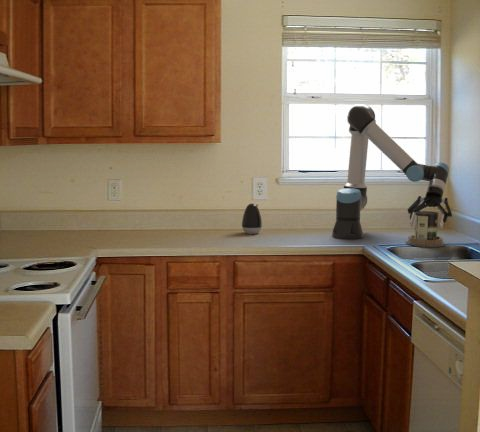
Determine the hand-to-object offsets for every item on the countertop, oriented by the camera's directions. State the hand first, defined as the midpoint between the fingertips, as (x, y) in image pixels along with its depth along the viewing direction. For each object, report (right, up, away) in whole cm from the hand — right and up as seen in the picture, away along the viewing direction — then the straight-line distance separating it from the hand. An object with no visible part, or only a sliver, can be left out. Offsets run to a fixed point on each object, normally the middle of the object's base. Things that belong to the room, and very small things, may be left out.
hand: (425, 225), depth 308 cm
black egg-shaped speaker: (-80, -4, +30) cm, 85 cm away
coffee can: (0, -8, +3) cm, 8 cm away
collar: (0, -9, +3) cm, 9 cm away
